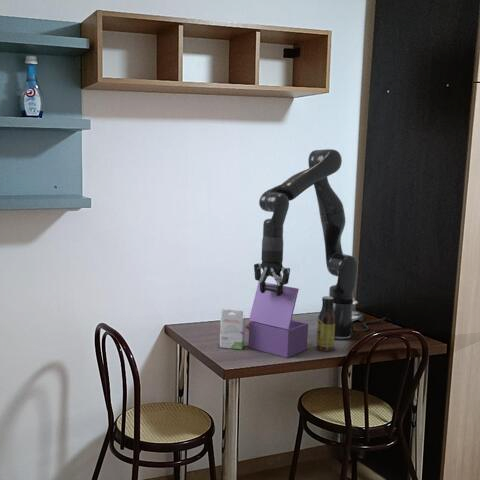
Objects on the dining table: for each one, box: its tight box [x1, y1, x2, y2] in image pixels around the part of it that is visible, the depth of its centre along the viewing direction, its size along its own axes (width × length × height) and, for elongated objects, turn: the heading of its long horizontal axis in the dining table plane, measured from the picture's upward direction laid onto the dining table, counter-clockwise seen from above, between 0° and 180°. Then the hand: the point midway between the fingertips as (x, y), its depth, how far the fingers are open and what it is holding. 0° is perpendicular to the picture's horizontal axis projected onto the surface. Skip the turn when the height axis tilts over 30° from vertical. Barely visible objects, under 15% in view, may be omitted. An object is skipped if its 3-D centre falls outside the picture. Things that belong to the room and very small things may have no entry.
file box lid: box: [248, 281, 300, 330], centre depth 232 cm, size 15×17×5 cm
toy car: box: [352, 297, 364, 322], centre depth 281 cm, size 18×10×12 cm
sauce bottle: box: [316, 295, 335, 352], centre depth 238 cm, size 6×6×20 cm
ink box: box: [219, 308, 246, 350], centre depth 239 cm, size 9×5×15 cm, turn 74°
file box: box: [247, 319, 309, 358], centre depth 239 cm, size 14×17×10 cm
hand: (270, 293), depth 232 cm, fingers closed on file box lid, 6 cm apart
